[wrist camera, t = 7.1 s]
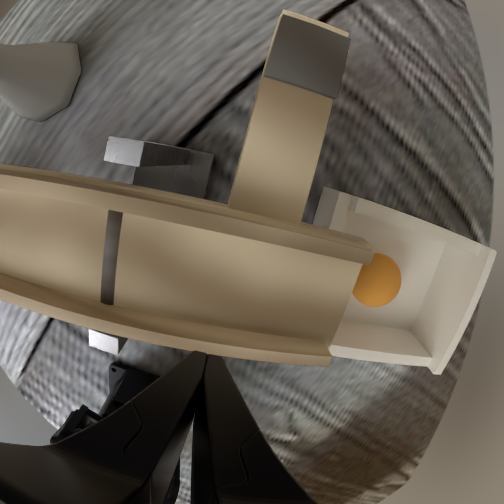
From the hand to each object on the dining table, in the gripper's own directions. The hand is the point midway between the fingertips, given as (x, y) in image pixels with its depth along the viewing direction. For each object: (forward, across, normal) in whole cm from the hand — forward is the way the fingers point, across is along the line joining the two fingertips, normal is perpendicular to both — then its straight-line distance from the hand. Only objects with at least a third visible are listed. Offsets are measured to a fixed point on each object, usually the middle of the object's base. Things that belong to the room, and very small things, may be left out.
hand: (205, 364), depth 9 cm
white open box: (+13, -11, -1) cm, 17 cm away
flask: (+13, +18, -10) cm, 25 cm away
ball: (+10, -10, -1) cm, 14 cm away
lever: (+7, +5, -6) cm, 10 cm away
